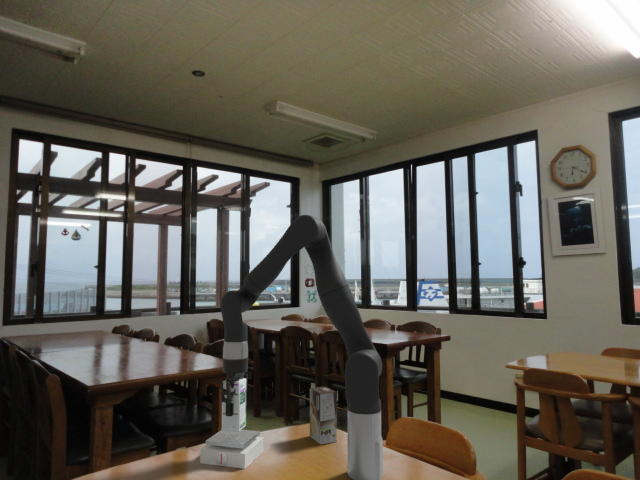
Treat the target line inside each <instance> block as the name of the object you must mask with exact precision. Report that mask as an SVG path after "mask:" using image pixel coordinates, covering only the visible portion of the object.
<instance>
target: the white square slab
mask: <svg viewBox="0 0 640 480" xmlns="http://www.w3.org/2000/svg"><path fill="white" fill-rule="evenodd" d="M264 450H265V437H263V436H258V437H256V438H255V439H254V440H253V441H252V442H251V443H249V444H248V445H247V446H246V447H245V448H234V447H225V446H216V445H207V444H205V445H204V446H203V447H201V448H200V450H199V451H200V452H199V455H200V457H199V461H200V462H199V464H203V465H210V466H217V467H219V466H220V467H225V468H226V467H229V468H237V469H243V470H244V469H246V468H248V466H249V465H251V463H253V462H254V461H255V460H256V459H257V457H259V456H260V455H261V454H262V453H263V452H264Z"/></svg>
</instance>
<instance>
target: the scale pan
mask: <svg viewBox="0 0 640 480" xmlns="http://www.w3.org/2000/svg"><path fill="white" fill-rule="evenodd" d="M260 435H261V431H260V430H249V429H241V430H240V432H232V431H223V430H222V429H220V430H219V431H218V432H216V433H215V434H213V435H212V436H211V437H209V438H208V439H206V440H205V445H216V446H225V447H234V448H245V447H246V446H247V445H248V444H249V443H251V442H252V441H253V440H254V439H255V438H256V437H260Z"/></svg>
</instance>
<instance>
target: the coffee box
mask: <svg viewBox="0 0 640 480" xmlns="http://www.w3.org/2000/svg"><path fill="white" fill-rule="evenodd" d="M337 395H338V392H337V391H335V390H333V389H331V388H329V387H327V386H316V387H310V388H309V437H310V438H311V439H312V440H314V441H315V442H316V443H318V444H319V445H326V444H333V443H336V442H337V441H338V440H337V438H338V437H337V435H338V434H337V432H338V431H337V430H338V429H337V420H338V419H337V418H338V416H337V413H338V412H337V405H338V404H337V402H338V401H337V400H338V399H337Z"/></svg>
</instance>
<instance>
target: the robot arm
mask: <svg viewBox="0 0 640 480" xmlns="http://www.w3.org/2000/svg"><path fill="white" fill-rule="evenodd" d="M302 249H305V250H306V252H307V254H308V256H309V259H310V261H311V264H312V267H313V272H314V280H315V287H316V291H317V295H318V297H319V300H320V302H321V303H320V304H321V305H322V307H323V311H324V312H325V314H326V316H327V317H328V319H329V321H330V323H331V324H332V325H333V326H334V328H335V330H337V331H338V334H340V336H341V338H342V340H343V343H344V345H345V348H346V349H347V355H348V356H349V357H348V358H347V360H346V363H345V369H344V382H345V384H344V385H345V391H344V392H345V401H346V403H347V464H346V465H347V476H348V477H349V478H350V479H352V480H382V476H383V472H384V469H383V468H384V463H383V462H384V461H383V460H384V459H383V448H384V447H383V443H384V442H383V436H382V400H381V399H380V387H379V386H380V385H379V384H380V383H379V380H380V379H379V377H380V376H381V375H382V371H383V361H382V358H381V355H380V354H379V352H378V351H377V348H376V347H375V345H374V344H373V342H372V339H371V338H370V336H369V334H368V332H367V329H366V328H365V325H364V322H363V319H362V315H361V313H360V311H359V308H358V306H357V303H356V301H355V297H354V295H353V292H352V290H351V288H350V286H349V283H348V281H347V279H346V277H345V275H344V272H343V270H342V268H341V266H340V264H339V262H338V259H336V256H335V254H334V253H335V252H334V250H333V248H332V244H331V240H330V238H329V233H328V232H327V227H326V225H325V224H324V222H323V221H322V220H320V219H319V218H318V217H315V216H313V215H309V214H301V215H299V216H297V217H295V219H294V220H293V221H291V223H290V225H289V226H288V228H287V229H286V230H285V232H284V233H283V235H282V236H281V237H280V238H279V240H278V241H277V242H276V244H275V245H274V246H273V248H272V249H271V250H270V251H269V253H267V255H266V256H265V257H263V259H262V260H260V262H259V263H258V264H257V265H256V266H255V267H254V268H253V269H251V271H250V272H249V273H248V274H247V275H246V276H245V277H244V279H243V285H242V286H241V287H240V288H239V289H237V290H229V291H227V292H225V293H224V294H223V295H222V298H221V301H220V312H221V313H220V314H221V319H222V323H223V325H224V333H223V334H224V338H223V347H222V372H223V373H224V374H226V379H225V380H226V382H223V381H221V382H220V392H221V393H220V394H221V395H220V396H221V403H222V402H225V403H226V416H233V409H234V403H233V402H234V396H235V395H236V389H234V391H233V392H231V388H234V381H240V380H238V379H243V378H246V394H247V392H248V379H249V374H248V373H247V372H248V370H249V369H248V368H249V367H248V366H249V345H248V335H249V334H248V324H247V322H245V321H244V320H243V315H242V314H243V313H245V312H247V311H248V310H250V309H251V308H252V307H253V306H254V305H255V303H256V301H257V300H258V299H259V298H260V296H261V294H262V293H264V291H266V289H268V287H270V285H271V284H273V283H274V281H275V280H277V278H278V277H279V275H280V274H281V272H283V271H282V270H283V269H284V268H285V267H286V265H287V263H288V262H289V261H290V260H291V259H292V258H293V256H295V254H297V253H298V252H299V251H302ZM225 395H226V396H225ZM231 395H232V396H231Z"/></svg>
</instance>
